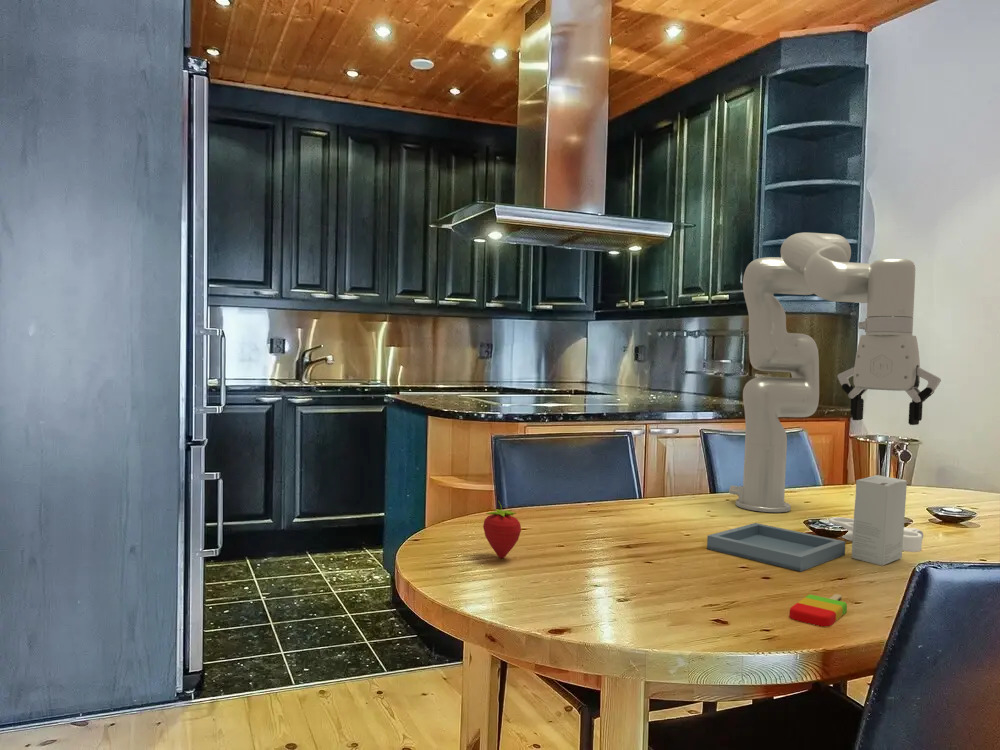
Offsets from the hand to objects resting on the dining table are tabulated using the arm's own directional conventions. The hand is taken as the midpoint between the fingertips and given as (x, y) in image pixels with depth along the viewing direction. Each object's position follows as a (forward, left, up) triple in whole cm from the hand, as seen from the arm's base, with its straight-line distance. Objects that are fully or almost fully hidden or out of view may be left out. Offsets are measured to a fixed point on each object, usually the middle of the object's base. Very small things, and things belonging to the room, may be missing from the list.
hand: (884, 422), depth 136 cm
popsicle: (+6, -36, -26) cm, 45 cm away
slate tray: (-14, -11, -25) cm, 31 cm away
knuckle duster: (-6, +16, -26) cm, 31 cm away
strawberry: (-41, -56, -25) cm, 74 cm away
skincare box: (0, 0, -25) cm, 25 cm away
